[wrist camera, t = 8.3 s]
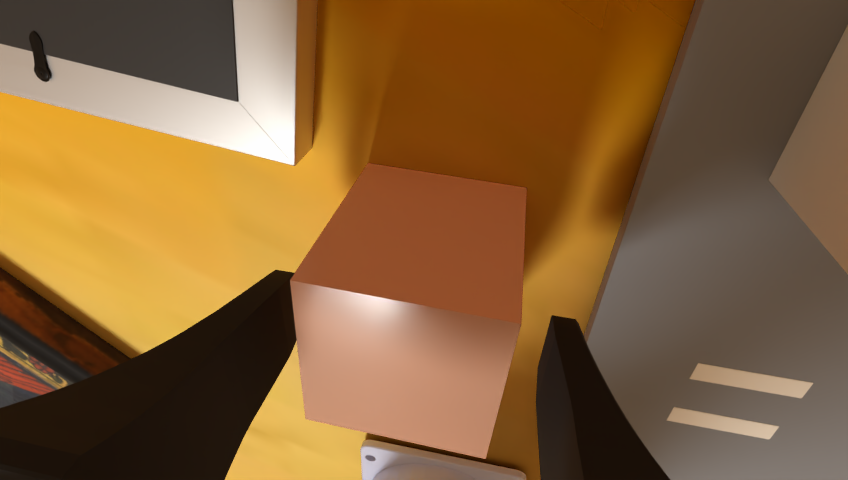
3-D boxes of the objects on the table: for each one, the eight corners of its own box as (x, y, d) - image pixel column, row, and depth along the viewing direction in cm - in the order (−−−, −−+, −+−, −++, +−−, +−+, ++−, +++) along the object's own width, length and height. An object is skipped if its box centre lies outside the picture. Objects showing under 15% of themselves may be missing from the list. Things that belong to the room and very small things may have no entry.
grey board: (816, 499, 20) (823, 514, 20) (547, 445, 21) (547, 458, 21) (1552, -235, 7) (1626, -246, 7) (778, -247, 9) (792, -256, 8)
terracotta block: (499, 307, 18) (485, 459, 13) (367, 282, 18) (305, 418, 13) (526, 186, 15) (521, 324, 10) (368, 162, 15) (290, 280, 10)
